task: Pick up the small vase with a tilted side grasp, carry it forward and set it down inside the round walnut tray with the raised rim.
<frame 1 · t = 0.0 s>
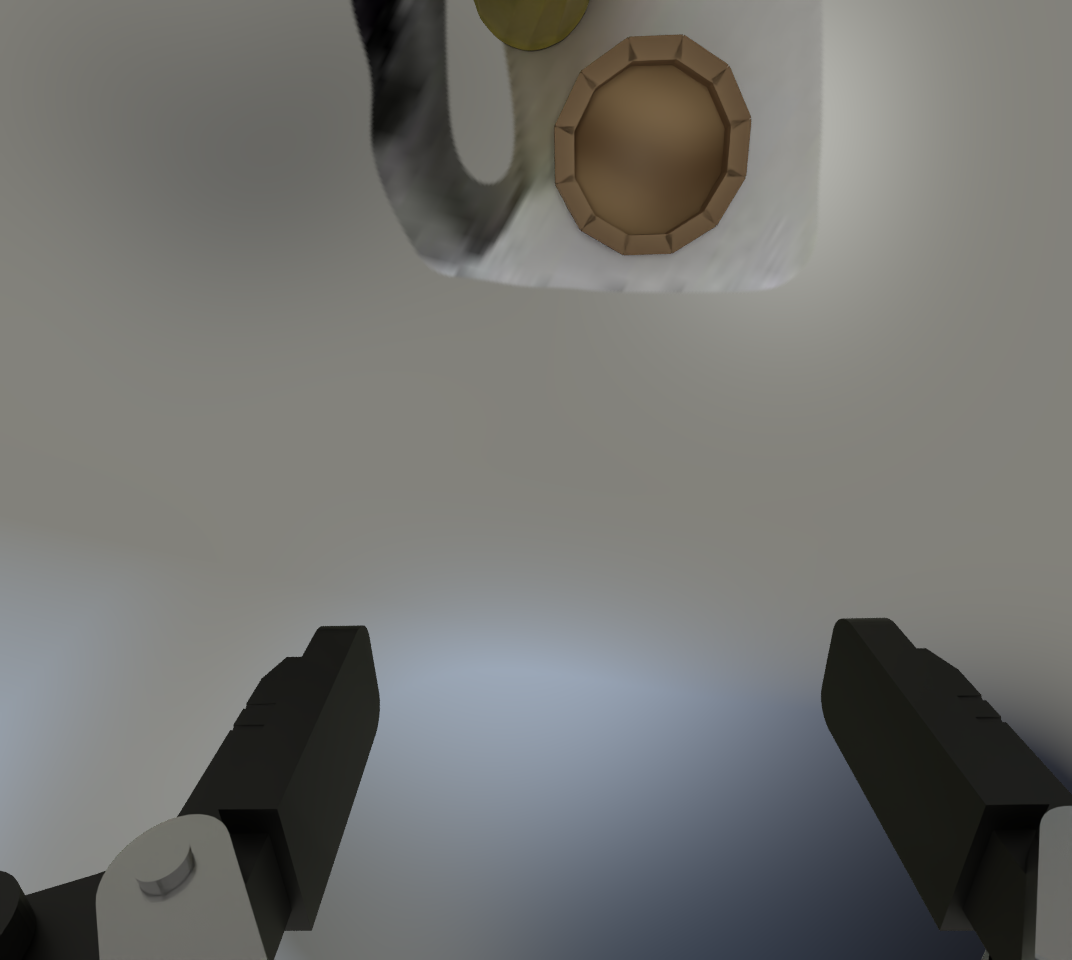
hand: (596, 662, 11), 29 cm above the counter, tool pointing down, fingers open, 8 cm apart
round tray: (646, 154, 33), on the counter
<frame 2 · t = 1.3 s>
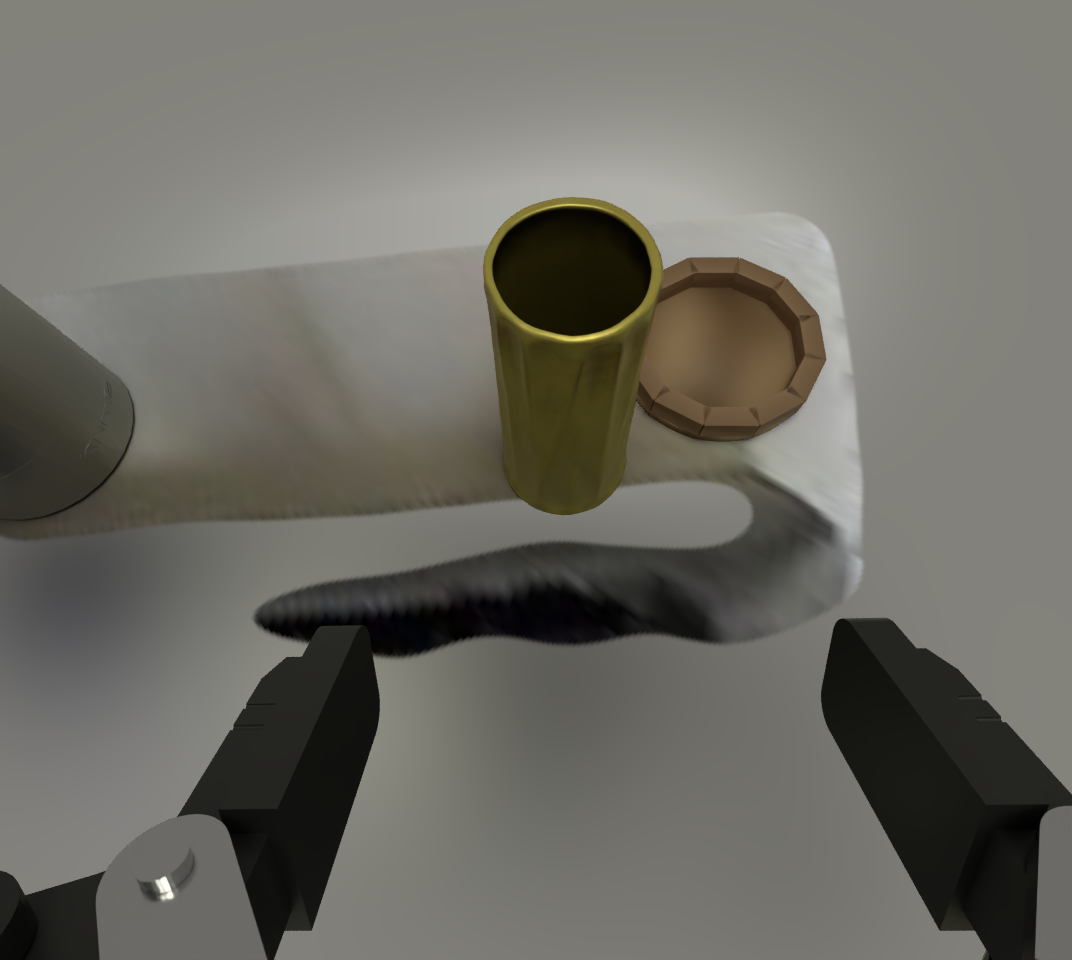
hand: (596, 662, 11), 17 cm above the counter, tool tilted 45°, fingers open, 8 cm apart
vase: (563, 460, 31), on the counter
round tray: (713, 356, 33), on the counter
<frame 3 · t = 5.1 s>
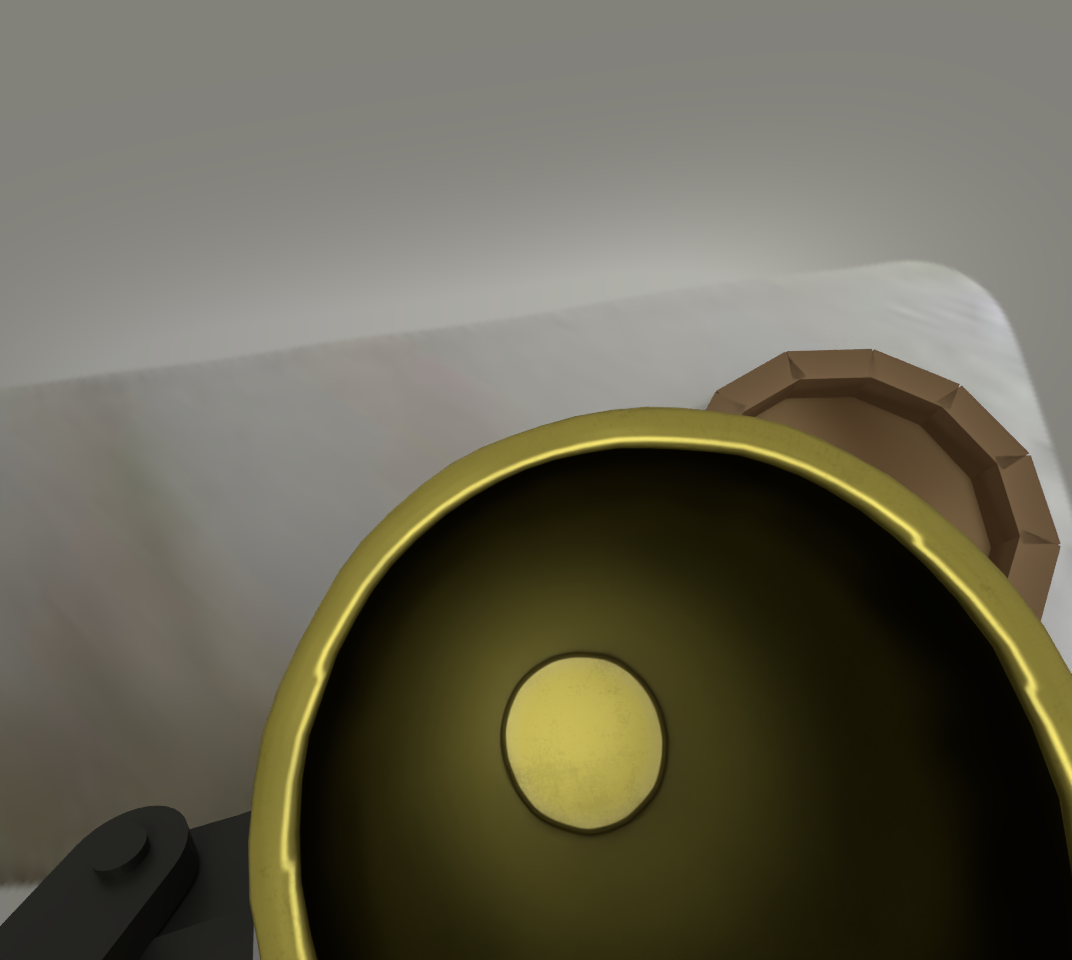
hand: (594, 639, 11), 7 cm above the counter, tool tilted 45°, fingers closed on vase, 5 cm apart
vase: (582, 736, 17), on the counter, touching gripper
round tray: (835, 521, 19), on the counter
when the fingers open (9 cm above the counter, at t = 10.2 s): vase drops 1 cm, resting on round tray.
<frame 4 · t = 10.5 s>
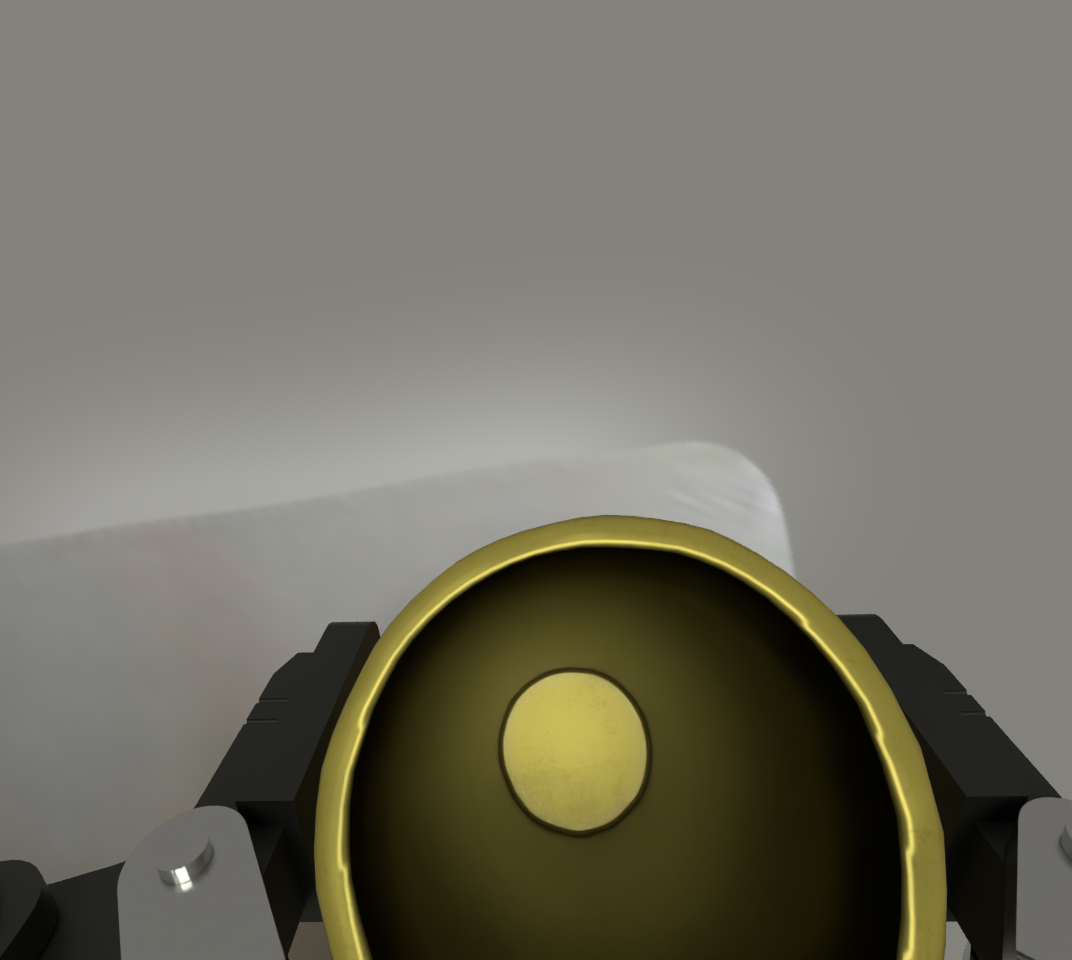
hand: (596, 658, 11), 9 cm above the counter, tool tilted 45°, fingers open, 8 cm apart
vase: (574, 745, 18), resting on round tray
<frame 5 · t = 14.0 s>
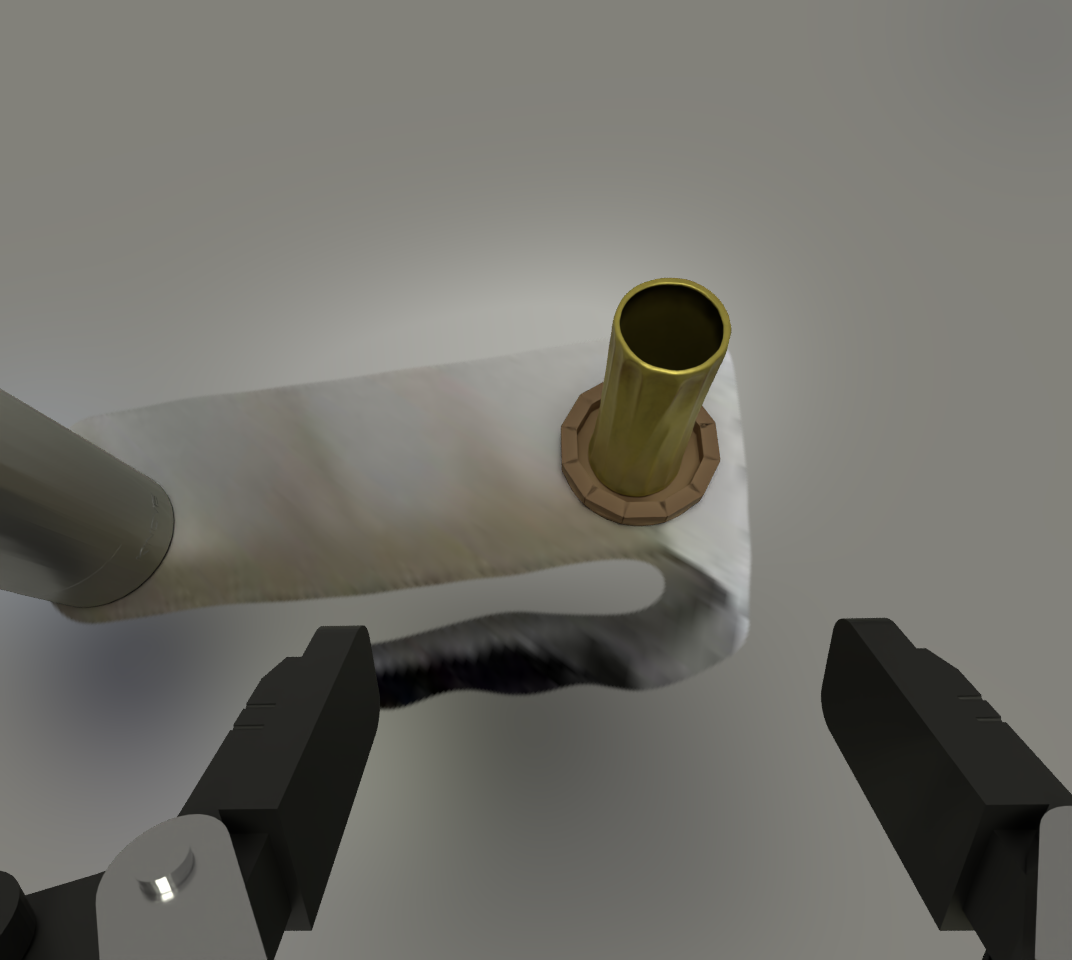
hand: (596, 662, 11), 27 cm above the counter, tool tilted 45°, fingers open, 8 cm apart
vase: (633, 455, 41), resting on round tray
round tray: (636, 454, 41), on the counter
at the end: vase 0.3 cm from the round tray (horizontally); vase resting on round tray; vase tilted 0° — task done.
